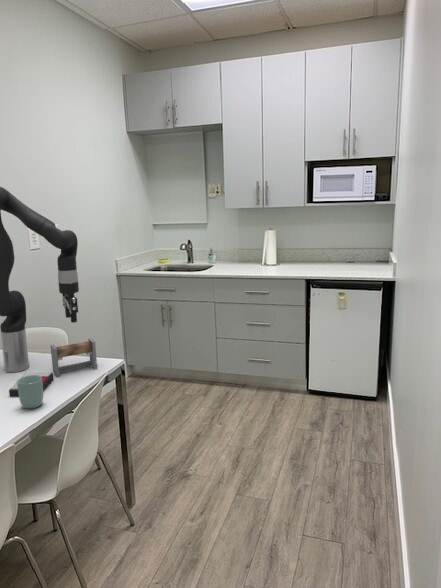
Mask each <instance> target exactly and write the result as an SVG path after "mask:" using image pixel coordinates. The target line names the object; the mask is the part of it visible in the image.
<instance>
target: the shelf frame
mask: <svg viewBox="0 0 441 588" xmlns="http://www.w3.org/2000/svg"><path fill="white" fill-rule="evenodd" d="M87 341H88V342H89V343H90V344H91V352H88V353H86V355H87V356H89V360H87V361H80V362H77V363H70V364H66V365H61V366H59V361H63V358H64V357H62V358H58V355H57V348H56V347H57V346H56V345H54V344H50V356H51V365H52V373H53V376H55V378H60V373H62V372H68V371H71V370H77V369H82V368H86V367H92V369H93V370H97V369H98V364H97V363H98V362H97V348H96V347H97V346H96V341H95V340H94V339H93V338H92V337H90V338H88V339H87Z"/></svg>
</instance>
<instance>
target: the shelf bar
mask: <svg viewBox="0 0 441 588" xmlns="http://www.w3.org/2000/svg"><path fill="white" fill-rule="evenodd" d="M55 347H56V348H57V355H58V358H66V357H71V356H78V355H82V354H87V353H88V352H91V344H90V343H89V342H88V340H87V341H83V342H77V343H72V344H71V343H70V344H65V345H59V346H55Z"/></svg>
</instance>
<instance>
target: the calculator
mask: <svg viewBox="0 0 441 588" xmlns="http://www.w3.org/2000/svg"><path fill="white" fill-rule="evenodd" d="M28 375H39V376H41V377H42V382H43V393H44V392H45V391H46V390H47V389H48V387H49V386H50V385H51V384H52V383H53V382H54V380H55V379H54V373H53V371H32V372H31V371H26V372H25V373H23V375H22V376H21V377H20V378H22V377H24V376H28ZM8 393H9V397H10V398H19V394H18V386H17V381H16V382H15V383H14V384H13V385H12V386H11V387H10V388H9V389H8Z"/></svg>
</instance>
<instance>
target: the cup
mask: <svg viewBox="0 0 441 588" xmlns="http://www.w3.org/2000/svg"><path fill="white" fill-rule="evenodd" d="M21 377H22V376H21ZM21 377H20V378H18V379H17V381H16V382H17V386H18V394H19V397H18V398H19V402H20V404H21V406H22V407H23V408H25V409H27V410H28V409H35V408H38V407H39V406H41V404H42V403H43V401H44V392H43V382H42V377H41V376H39V375H28V376H24V377H22V378H21Z"/></svg>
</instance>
